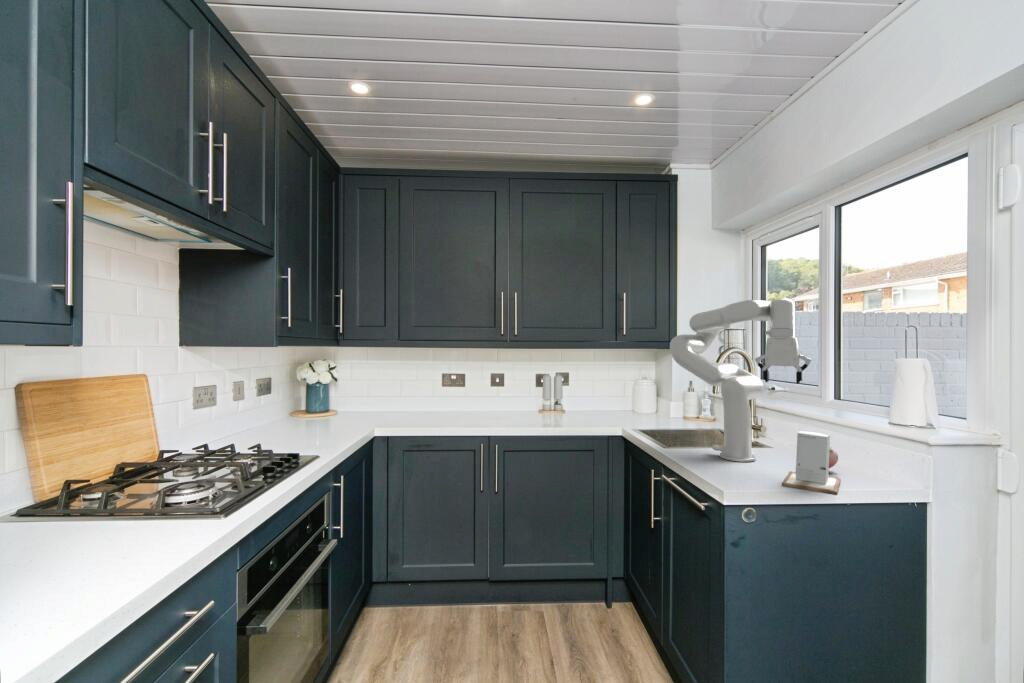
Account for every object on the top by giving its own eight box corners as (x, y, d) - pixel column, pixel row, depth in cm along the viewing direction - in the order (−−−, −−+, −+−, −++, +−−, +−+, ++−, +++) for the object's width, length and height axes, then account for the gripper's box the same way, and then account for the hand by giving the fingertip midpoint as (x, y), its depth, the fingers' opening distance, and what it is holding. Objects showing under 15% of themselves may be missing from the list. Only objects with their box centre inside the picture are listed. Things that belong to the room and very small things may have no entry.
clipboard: (781, 485, 144) (781, 479, 144) (789, 473, 157) (789, 468, 157) (836, 494, 135) (836, 488, 135) (840, 481, 148) (840, 475, 148)
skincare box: (795, 479, 147) (795, 432, 147) (799, 475, 151) (799, 430, 151) (827, 485, 141) (826, 436, 141) (830, 480, 146) (830, 433, 146)
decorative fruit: (800, 467, 165) (800, 439, 165) (818, 466, 167) (818, 438, 167) (824, 475, 156) (823, 445, 156) (843, 473, 158) (843, 443, 158)
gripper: (752, 334, 167) (753, 381, 167) (809, 333, 156) (810, 384, 156) (757, 334, 173) (757, 380, 173) (812, 334, 162) (812, 383, 162)
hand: (782, 382), depth 164 cm, fingers open, 9 cm apart
